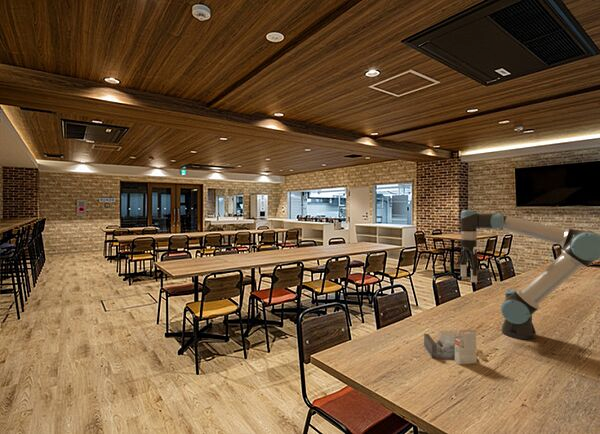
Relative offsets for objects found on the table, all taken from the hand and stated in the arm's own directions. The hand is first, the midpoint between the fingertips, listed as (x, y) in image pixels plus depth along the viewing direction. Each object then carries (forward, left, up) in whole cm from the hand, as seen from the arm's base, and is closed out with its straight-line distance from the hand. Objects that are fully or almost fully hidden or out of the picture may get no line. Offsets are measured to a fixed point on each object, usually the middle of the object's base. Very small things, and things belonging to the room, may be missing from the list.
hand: (468, 279), depth 176 cm
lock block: (+18, +26, -27) cm, 42 cm away
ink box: (+15, +35, -29) cm, 48 cm away
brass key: (+6, +29, -29) cm, 41 cm away
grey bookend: (+19, +26, -29) cm, 43 cm away
